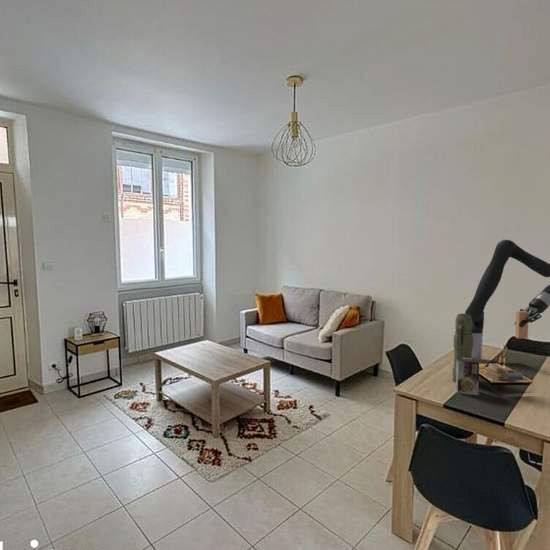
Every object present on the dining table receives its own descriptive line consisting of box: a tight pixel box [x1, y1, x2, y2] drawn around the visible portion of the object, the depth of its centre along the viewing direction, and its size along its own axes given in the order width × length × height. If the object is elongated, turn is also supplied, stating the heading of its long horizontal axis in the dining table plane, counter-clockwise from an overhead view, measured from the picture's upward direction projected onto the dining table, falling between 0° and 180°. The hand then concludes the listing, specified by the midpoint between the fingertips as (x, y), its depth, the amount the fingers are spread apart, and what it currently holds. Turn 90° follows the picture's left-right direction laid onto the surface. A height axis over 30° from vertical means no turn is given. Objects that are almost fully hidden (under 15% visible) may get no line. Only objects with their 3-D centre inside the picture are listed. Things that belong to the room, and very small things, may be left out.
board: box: [514, 310, 529, 339], centre depth 193 cm, size 5×2×14 cm, turn 93°
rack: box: [484, 369, 529, 382], centre depth 190 cm, size 16×11×4 cm
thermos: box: [452, 313, 473, 383], centre depth 187 cm, size 9×12×35 cm
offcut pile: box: [486, 362, 509, 381], centre depth 189 cm, size 6×9×6 cm, turn 3°
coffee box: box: [455, 357, 480, 396], centre depth 174 cm, size 9×6×16 cm
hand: (518, 325), depth 193 cm, fingers closed on board, 2 cm apart
